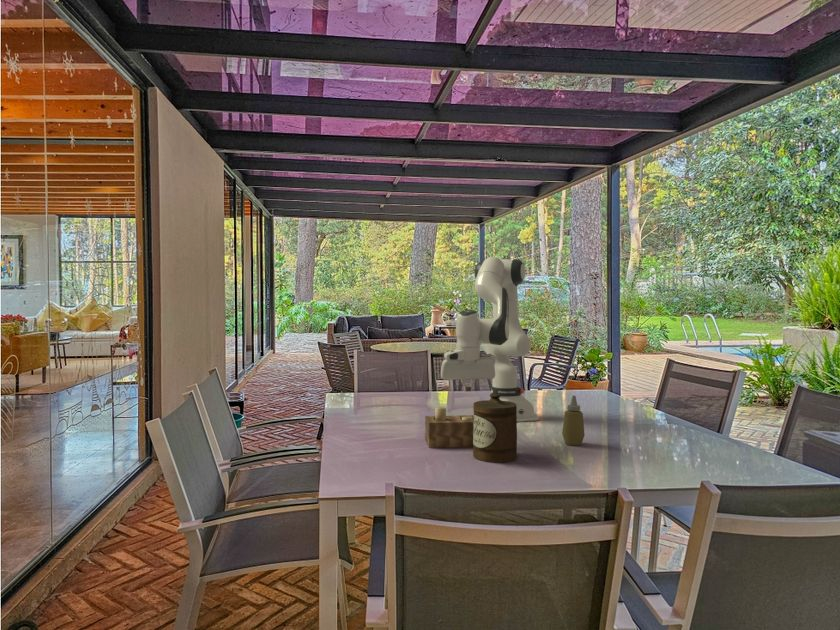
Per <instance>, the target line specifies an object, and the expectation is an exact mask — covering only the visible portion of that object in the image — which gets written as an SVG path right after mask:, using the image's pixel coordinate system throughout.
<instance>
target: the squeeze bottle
mask: <svg viewBox="0 0 840 630" xmlns="http://www.w3.org/2000/svg"><path fill="white" fill-rule="evenodd" d="M577 401H578V400H577V397H576V395H571V400H570V402H569V403H570V404H567V406H566V409H567V410H565V411H564V414H563V421H562V423H563V424H562V430H561V431H562V433H561V434H562V437H563V441H564V444H565V445H567V446H572V445H573V446H577V447H578V446H581V445H582V443H583V440H584V438H585V424H584V413H583V412H582V411H581V405H579V404H578V402H577Z"/></svg>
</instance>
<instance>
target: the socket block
mask: <svg viewBox="0 0 840 630" xmlns="http://www.w3.org/2000/svg"><path fill="white" fill-rule="evenodd" d="M462 417H472V418H473V420H462ZM424 419H425V422H424V423H425V424H424V427H425V430H424V432H425V433H424V438H425V442H426V445H427V446H428V448H429V449H431V448H433V449H434V448H437V449H438V448H442V449H443V448H473V427H474V414H471V415H470V414H469V415H468V414H467V415H463V414H461V415H446V421H435V415H425V416H424Z"/></svg>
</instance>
